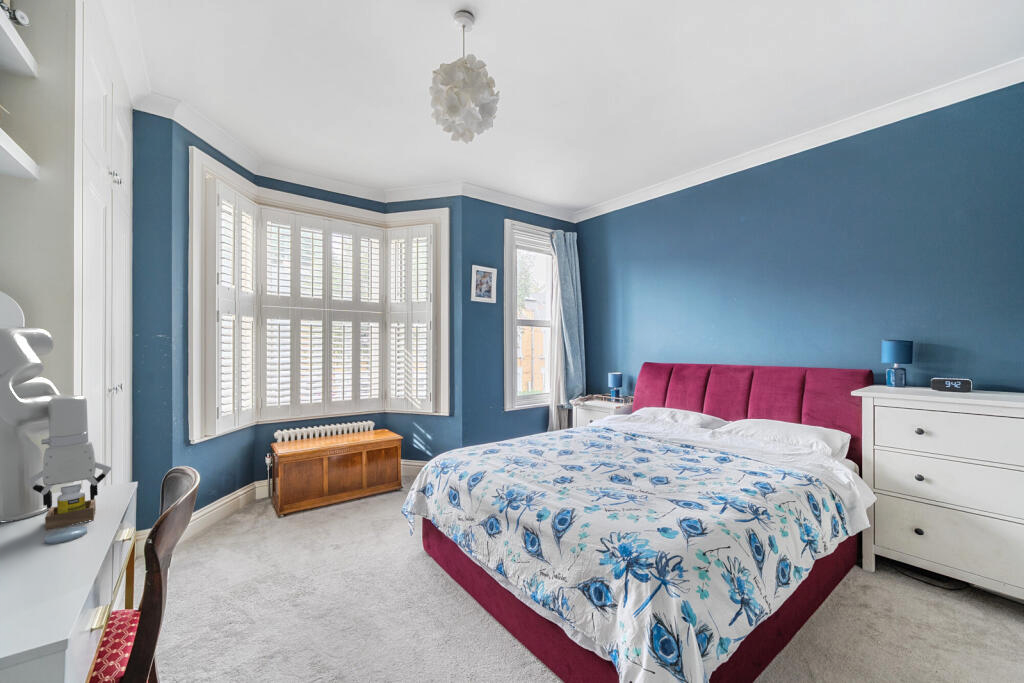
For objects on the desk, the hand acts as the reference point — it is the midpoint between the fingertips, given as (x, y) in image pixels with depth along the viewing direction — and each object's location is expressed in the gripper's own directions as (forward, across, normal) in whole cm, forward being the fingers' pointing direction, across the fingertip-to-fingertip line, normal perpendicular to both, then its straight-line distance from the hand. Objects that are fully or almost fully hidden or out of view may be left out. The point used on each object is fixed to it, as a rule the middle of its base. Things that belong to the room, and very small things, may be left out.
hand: (71, 502), depth 119 cm
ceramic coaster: (+5, 0, -14) cm, 15 cm away
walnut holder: (+5, 0, 0) cm, 5 cm away
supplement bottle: (+5, 0, 0) cm, 5 cm away
